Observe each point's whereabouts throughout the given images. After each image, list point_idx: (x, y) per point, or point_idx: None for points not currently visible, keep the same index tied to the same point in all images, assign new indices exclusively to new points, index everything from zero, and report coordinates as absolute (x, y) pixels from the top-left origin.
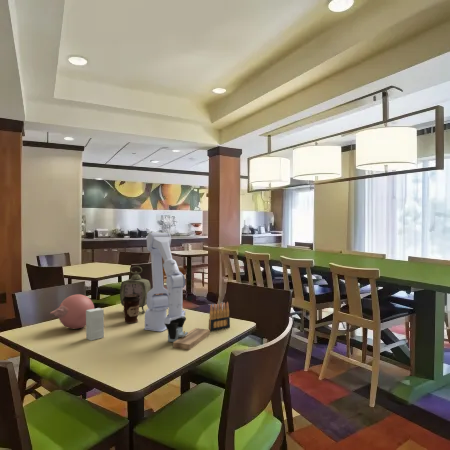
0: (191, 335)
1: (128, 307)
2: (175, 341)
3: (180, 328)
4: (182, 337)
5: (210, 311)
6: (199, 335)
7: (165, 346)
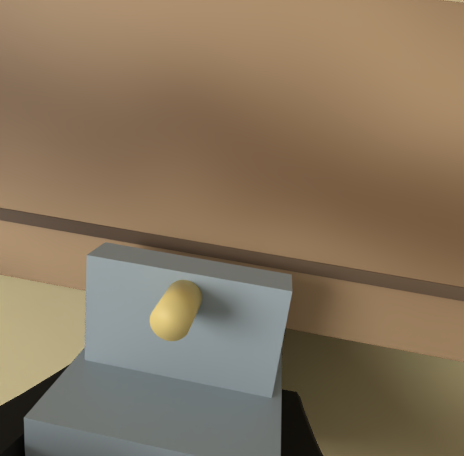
0: (84, 169)
1: None
2: (460, 348)
3: (129, 443)
4: None
5: None
6: (30, 10)
7: (435, 424)
